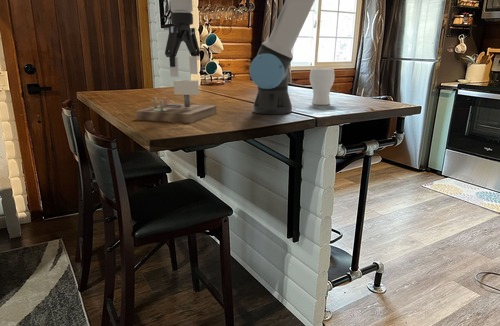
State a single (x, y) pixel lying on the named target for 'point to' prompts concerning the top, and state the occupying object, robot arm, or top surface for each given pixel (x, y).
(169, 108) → the board
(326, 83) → the cup
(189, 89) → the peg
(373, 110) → the top surface
